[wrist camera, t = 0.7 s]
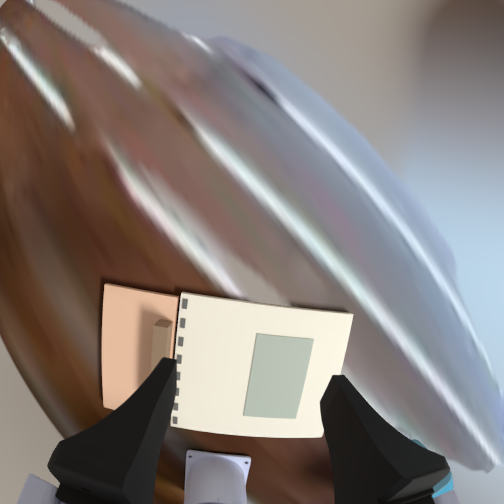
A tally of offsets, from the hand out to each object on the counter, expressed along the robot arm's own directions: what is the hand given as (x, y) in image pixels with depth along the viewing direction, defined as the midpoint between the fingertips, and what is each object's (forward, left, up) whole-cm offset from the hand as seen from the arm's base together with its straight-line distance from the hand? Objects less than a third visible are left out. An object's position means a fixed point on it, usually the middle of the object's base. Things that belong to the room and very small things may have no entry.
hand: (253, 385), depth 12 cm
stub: (-7, +10, -17) cm, 21 cm away
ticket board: (-7, -3, -17) cm, 19 cm away
